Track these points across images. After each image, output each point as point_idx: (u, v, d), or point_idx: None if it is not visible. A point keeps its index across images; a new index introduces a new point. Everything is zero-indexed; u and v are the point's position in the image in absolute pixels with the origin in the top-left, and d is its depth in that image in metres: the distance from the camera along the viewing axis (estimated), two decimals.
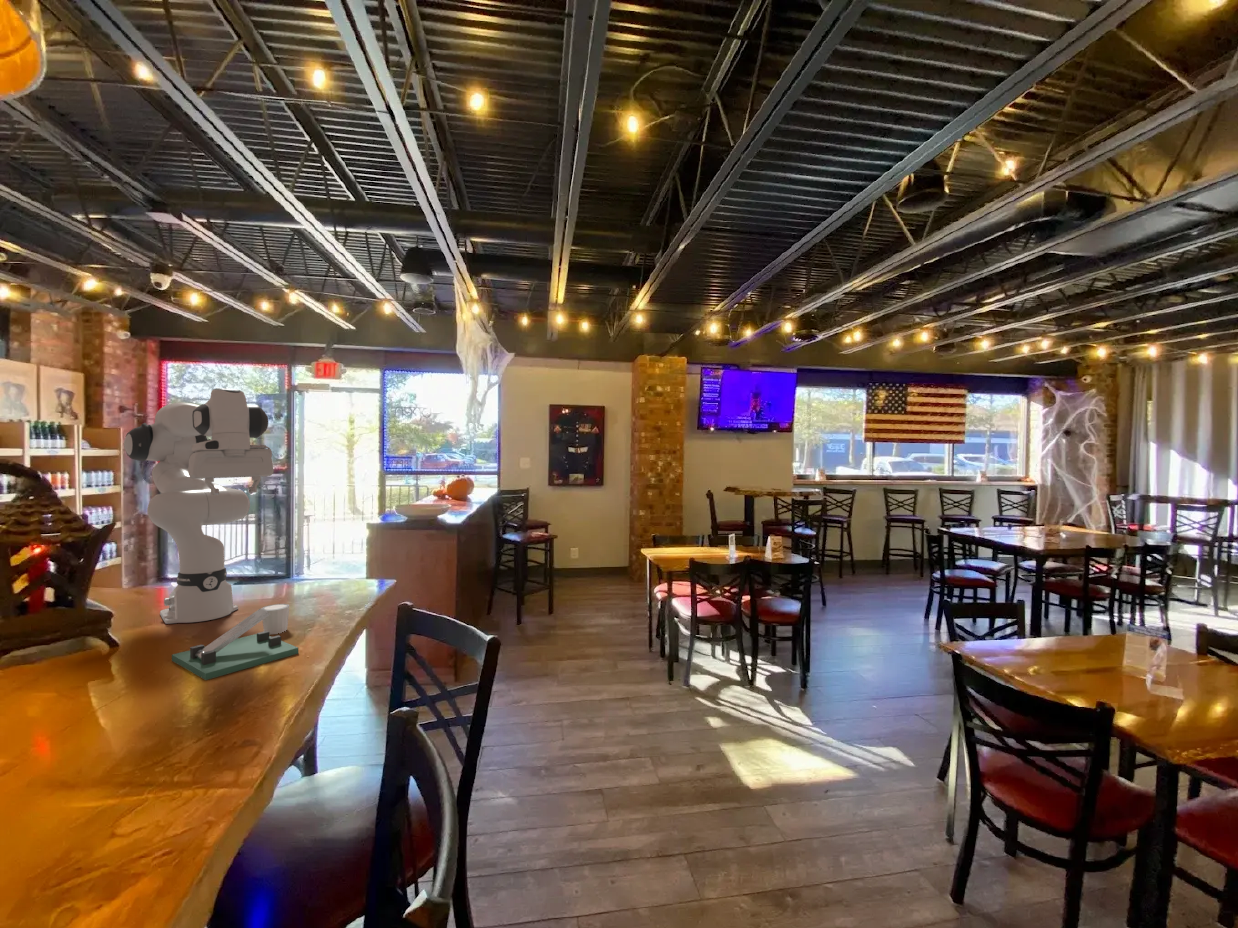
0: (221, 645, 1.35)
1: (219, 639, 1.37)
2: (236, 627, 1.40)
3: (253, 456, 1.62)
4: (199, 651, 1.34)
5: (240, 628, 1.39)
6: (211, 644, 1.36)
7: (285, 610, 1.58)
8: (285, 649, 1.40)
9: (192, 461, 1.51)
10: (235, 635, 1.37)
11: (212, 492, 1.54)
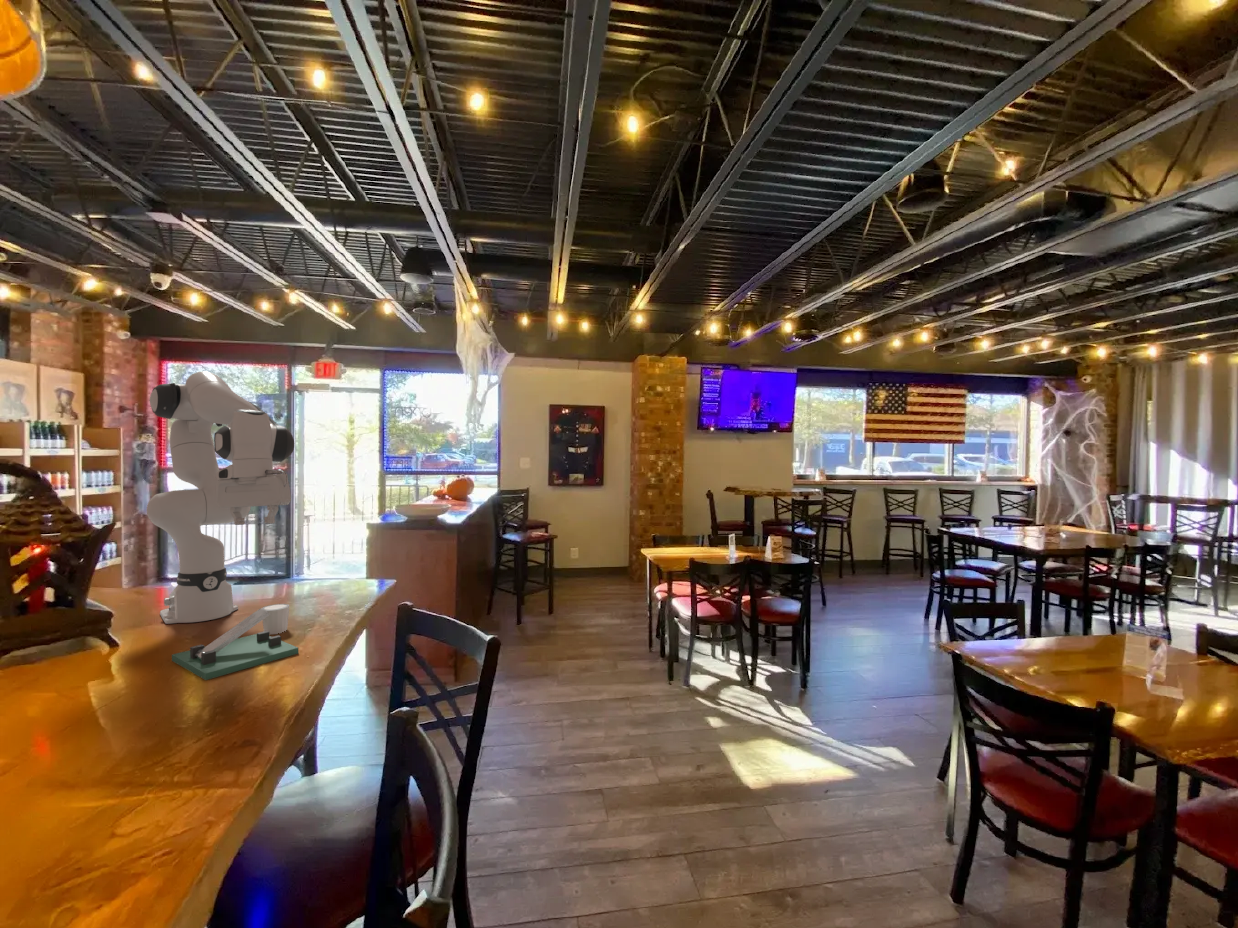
0: (221, 645, 1.35)
1: (219, 639, 1.37)
2: (236, 627, 1.40)
3: (263, 483, 1.44)
4: (199, 651, 1.34)
5: (240, 628, 1.39)
6: (211, 644, 1.36)
7: (285, 610, 1.58)
8: (285, 649, 1.40)
9: None
10: (235, 635, 1.37)
11: None
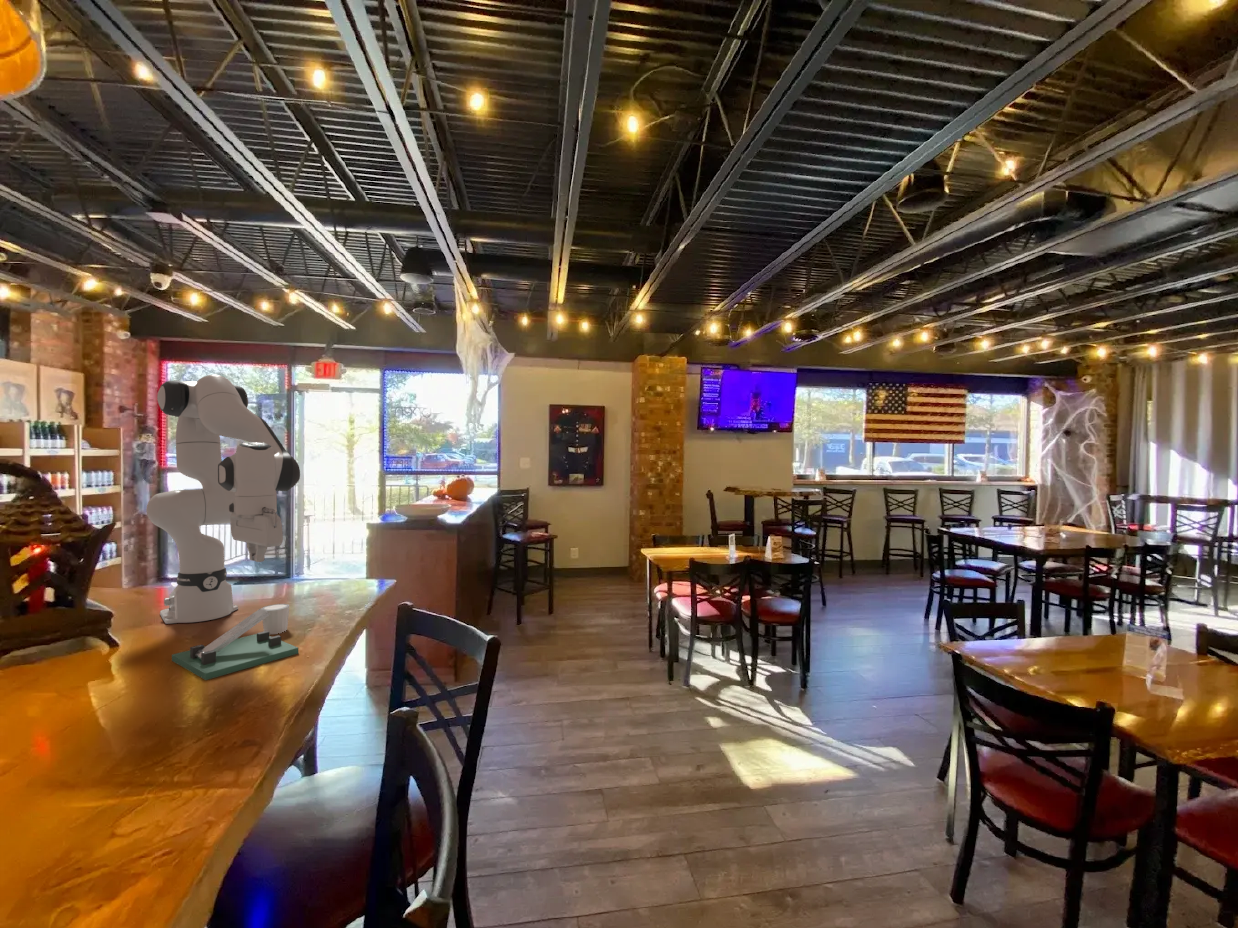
0: (221, 645, 1.35)
1: (219, 639, 1.37)
2: (236, 627, 1.40)
3: (257, 522, 1.38)
4: (199, 651, 1.34)
5: (240, 628, 1.39)
6: (211, 644, 1.36)
7: (285, 610, 1.58)
8: (285, 649, 1.40)
9: None
10: (235, 635, 1.37)
11: None
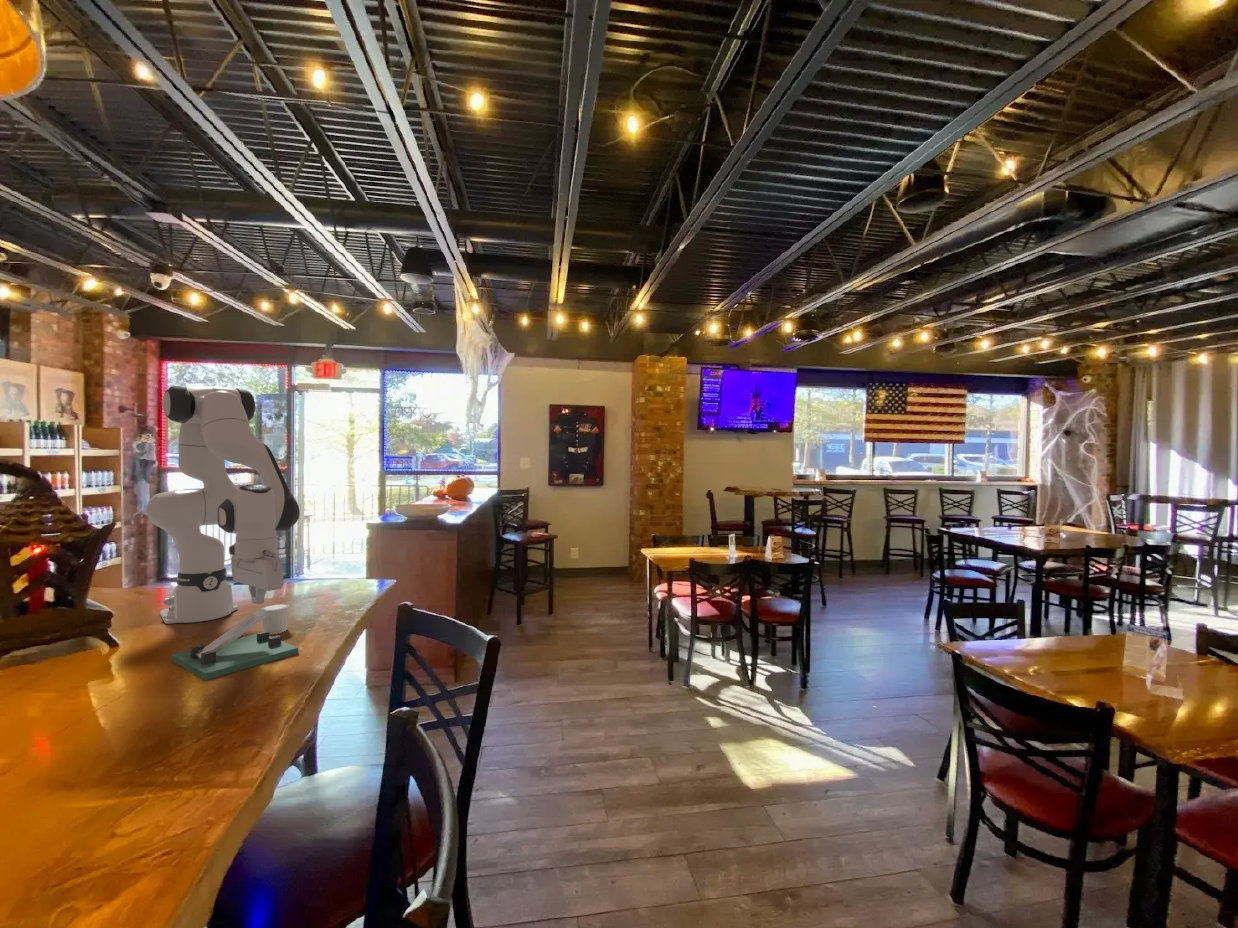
0: (221, 645, 1.35)
1: (219, 639, 1.37)
2: (236, 627, 1.40)
3: (258, 566, 1.39)
4: (199, 651, 1.34)
5: (240, 628, 1.39)
6: (211, 644, 1.36)
7: (285, 610, 1.58)
8: (285, 649, 1.40)
9: None
10: (235, 635, 1.37)
11: None
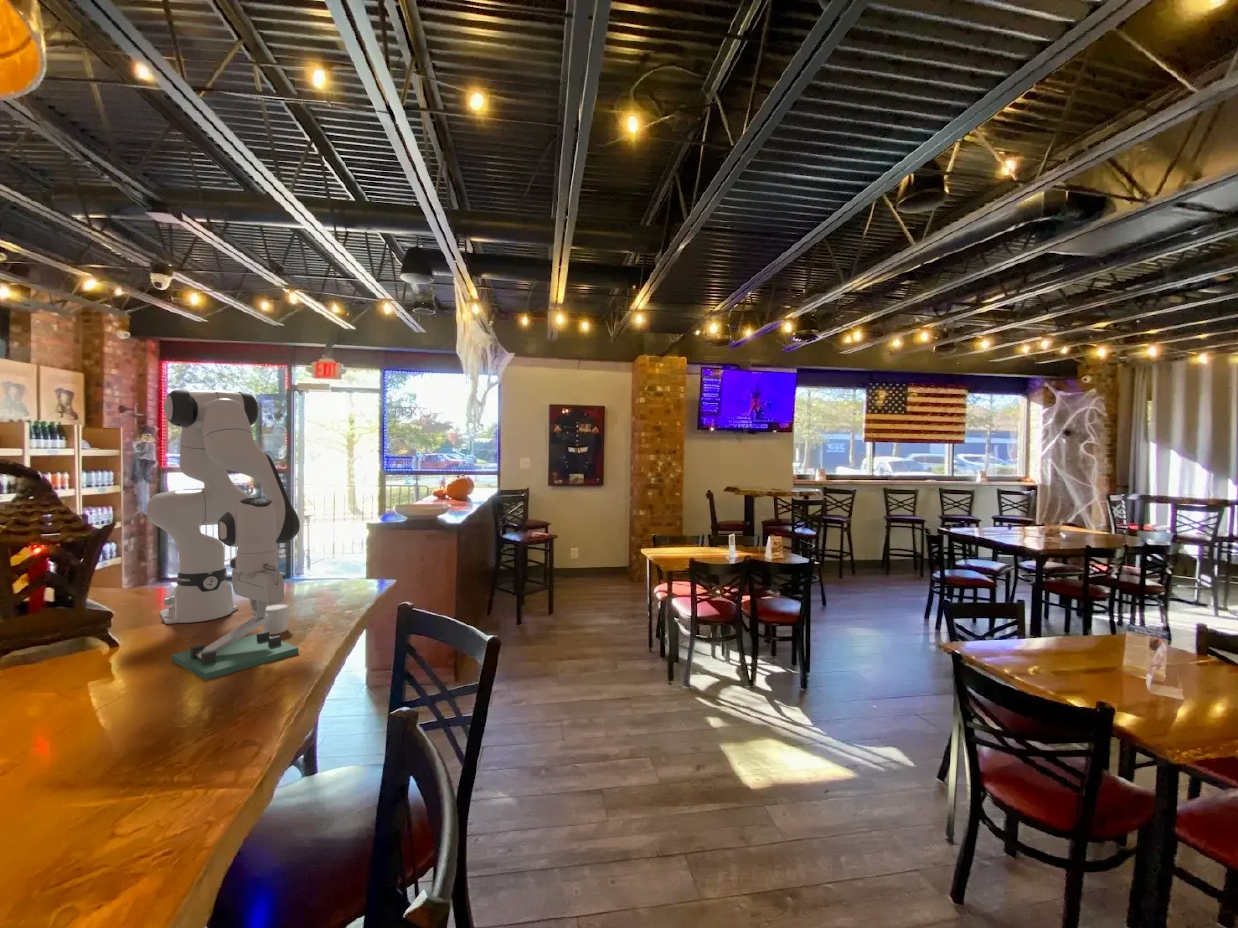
0: (222, 646, 1.35)
1: (220, 640, 1.37)
2: (237, 629, 1.40)
3: (259, 579, 1.39)
4: (199, 651, 1.34)
5: (242, 630, 1.39)
6: (212, 645, 1.36)
7: (285, 610, 1.58)
8: (285, 649, 1.40)
9: None
10: (236, 637, 1.38)
11: None
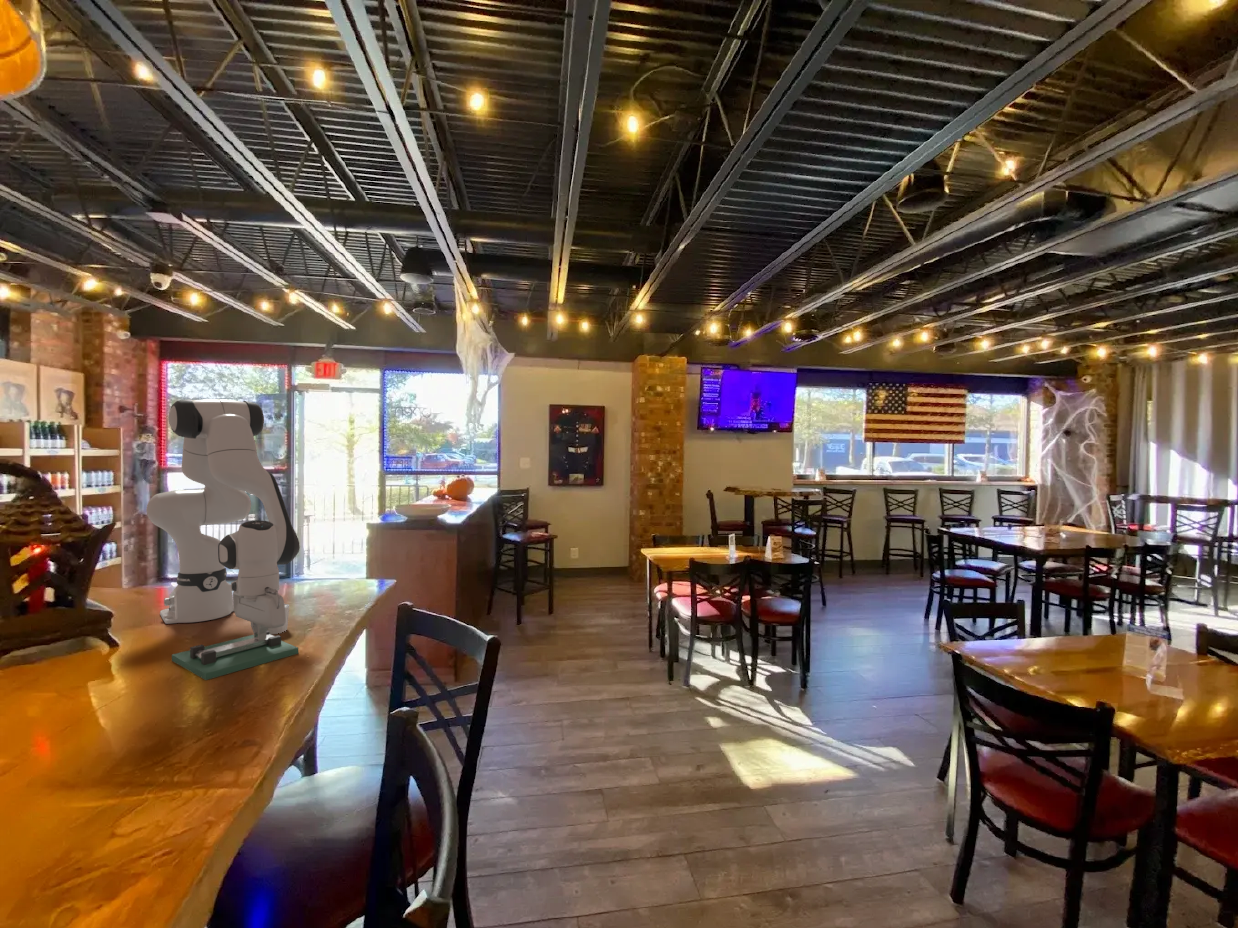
0: (224, 651, 1.35)
1: (223, 647, 1.38)
2: (242, 642, 1.41)
3: (260, 603, 1.39)
4: (201, 650, 1.34)
5: (246, 643, 1.40)
6: (214, 648, 1.36)
7: (285, 610, 1.58)
8: (285, 649, 1.40)
9: None
10: (239, 647, 1.38)
11: None
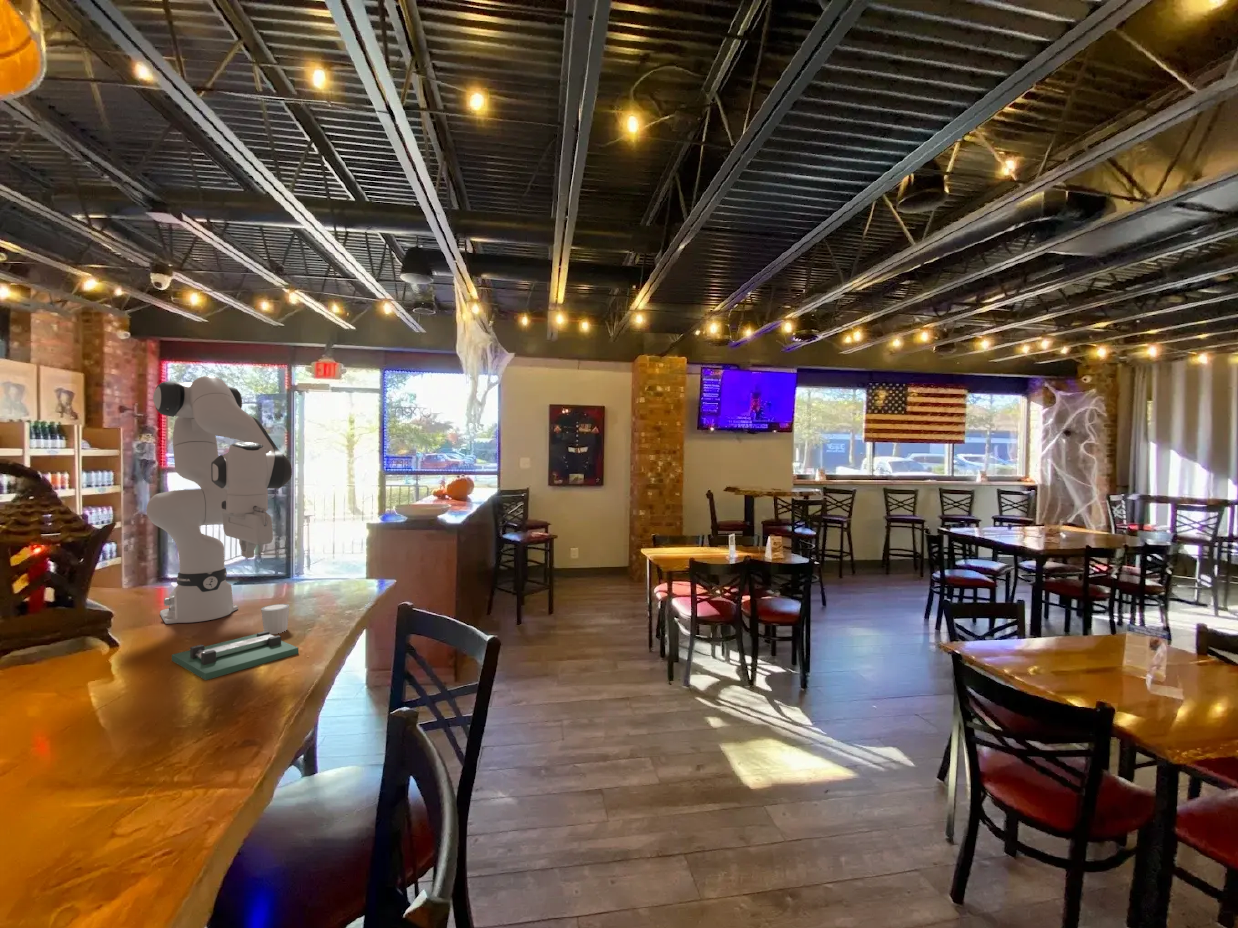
0: (224, 651, 1.35)
1: (223, 647, 1.38)
2: (242, 642, 1.41)
3: (248, 520, 1.43)
4: (201, 650, 1.34)
5: (246, 643, 1.40)
6: (214, 648, 1.36)
7: (285, 610, 1.58)
8: (285, 649, 1.40)
9: None
10: (239, 647, 1.38)
11: None
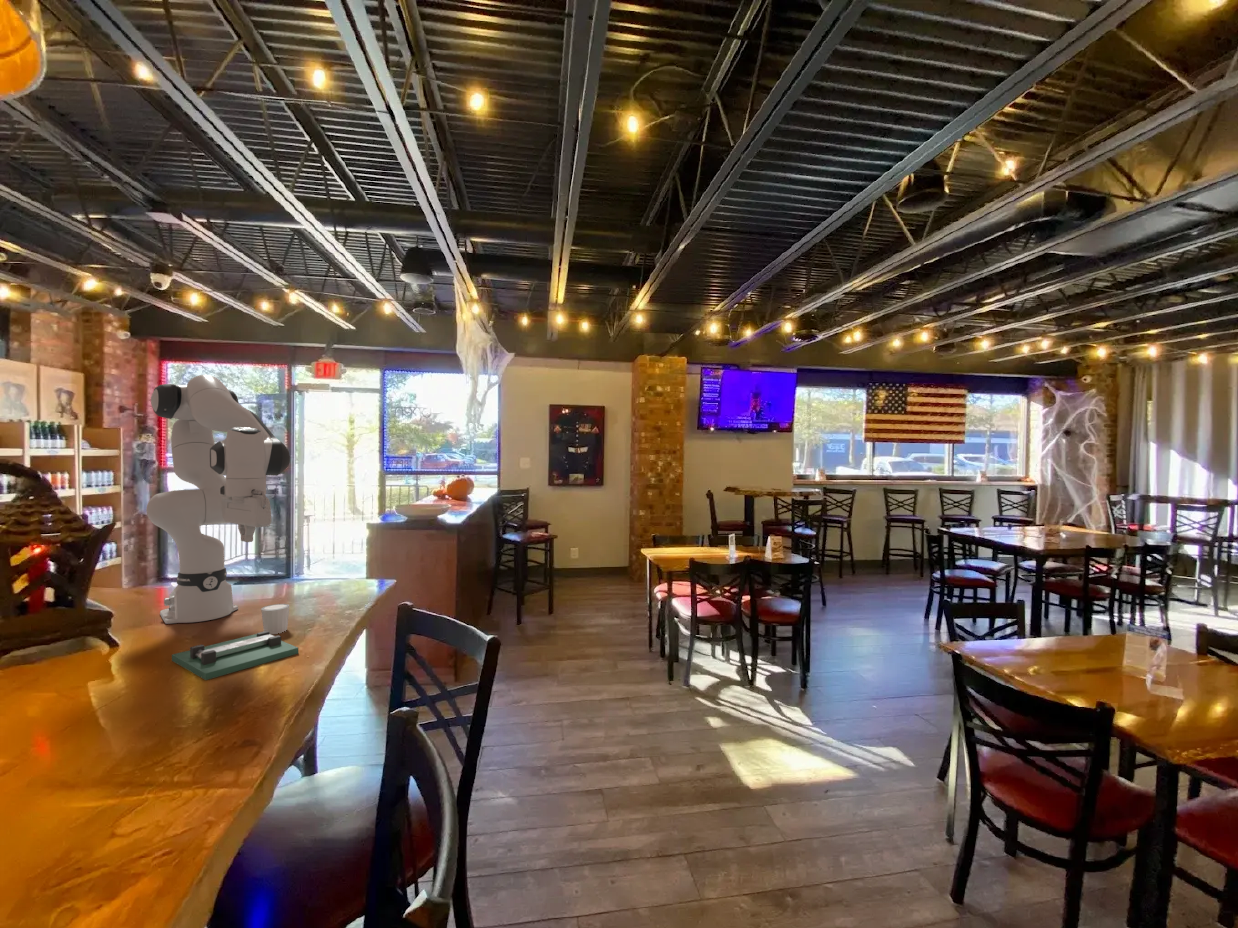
0: (224, 651, 1.35)
1: (223, 647, 1.38)
2: (242, 642, 1.41)
3: (247, 504, 1.44)
4: (201, 650, 1.34)
5: (246, 643, 1.40)
6: (214, 648, 1.36)
7: (285, 610, 1.58)
8: (285, 649, 1.40)
9: None
10: (239, 647, 1.38)
11: None
